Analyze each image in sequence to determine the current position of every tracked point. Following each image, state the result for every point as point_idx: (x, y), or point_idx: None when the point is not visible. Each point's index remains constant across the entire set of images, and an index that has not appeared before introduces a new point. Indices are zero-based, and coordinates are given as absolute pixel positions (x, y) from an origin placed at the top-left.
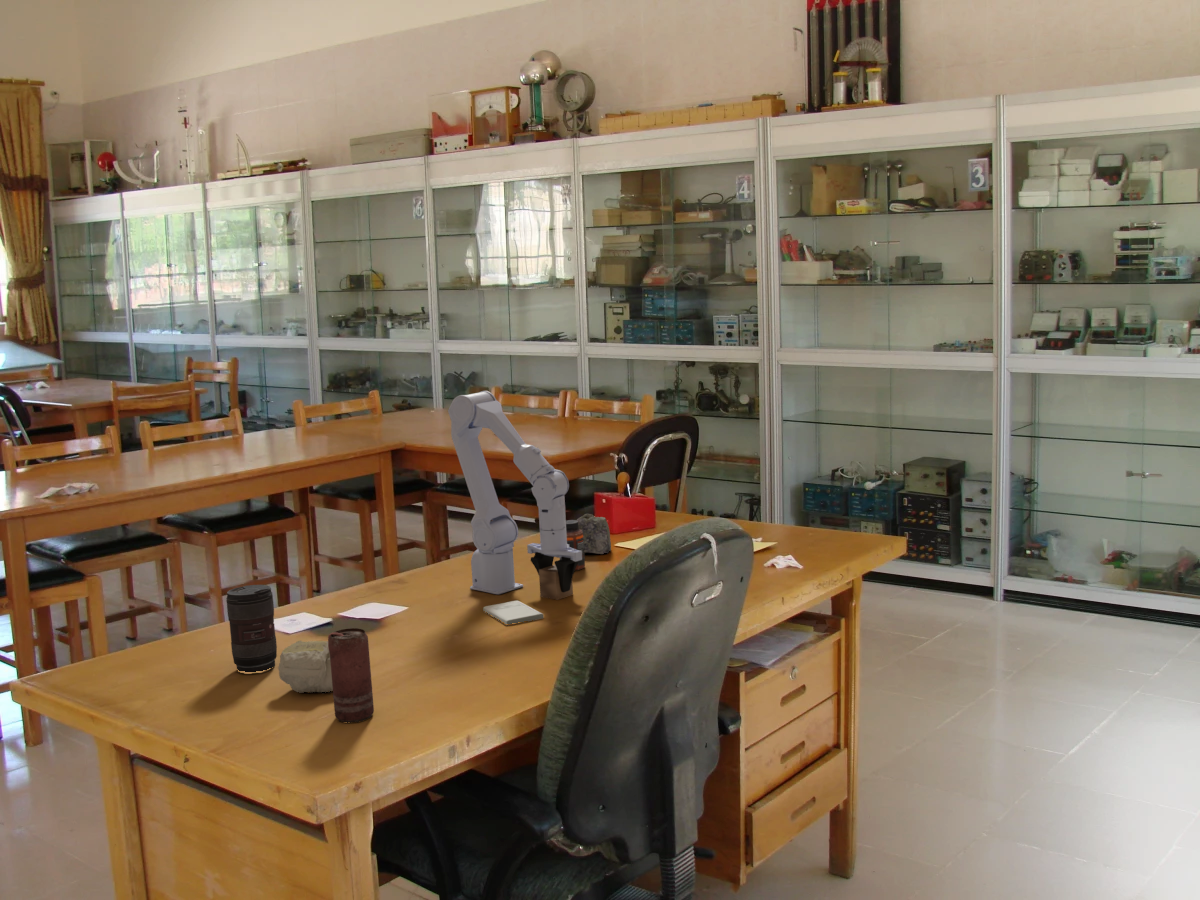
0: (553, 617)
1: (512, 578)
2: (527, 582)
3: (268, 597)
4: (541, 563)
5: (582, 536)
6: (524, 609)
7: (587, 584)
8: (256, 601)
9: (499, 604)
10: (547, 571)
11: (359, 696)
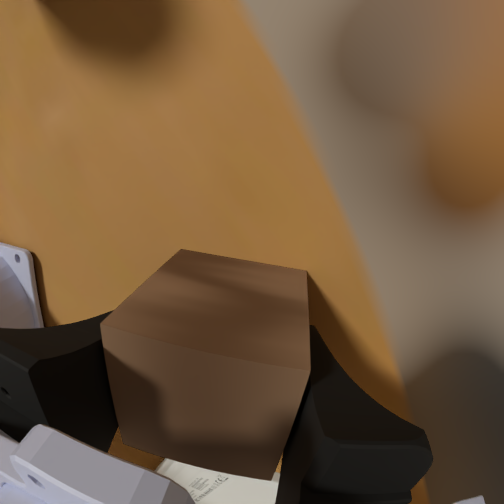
0: None
1: (5, 316)
2: (6, 184)
3: None
4: (98, 446)
5: None
6: (270, 497)
7: (259, 54)
8: None
9: (162, 472)
10: (198, 466)
11: None
